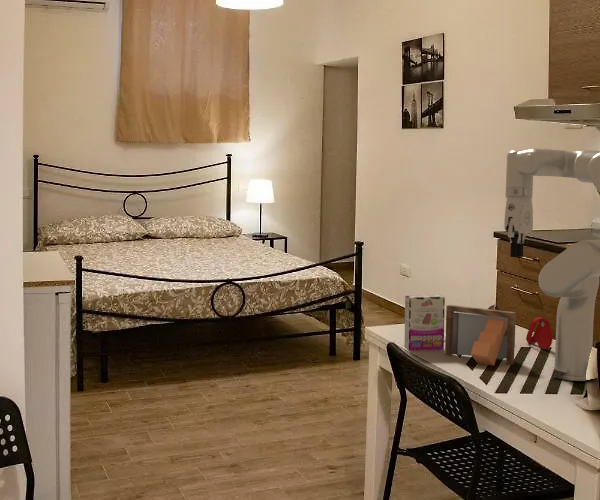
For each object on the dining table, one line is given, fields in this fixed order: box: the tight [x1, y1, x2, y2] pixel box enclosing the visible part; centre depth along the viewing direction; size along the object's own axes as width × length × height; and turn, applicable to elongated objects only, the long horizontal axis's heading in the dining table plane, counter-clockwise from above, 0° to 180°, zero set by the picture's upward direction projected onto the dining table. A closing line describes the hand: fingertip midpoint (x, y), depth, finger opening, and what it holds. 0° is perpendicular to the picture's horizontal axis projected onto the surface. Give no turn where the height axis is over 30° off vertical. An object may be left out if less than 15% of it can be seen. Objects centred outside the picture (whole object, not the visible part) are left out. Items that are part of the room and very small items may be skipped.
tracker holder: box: [525, 316, 553, 350], centre depth 257 cm, size 12×4×10 cm, turn 16°
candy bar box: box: [403, 294, 446, 351], centre depth 252 cm, size 11×5×16 cm, turn 101°
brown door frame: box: [444, 304, 517, 366], centre depth 239 cm, size 20×2×14 cm, turn 52°
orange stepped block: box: [470, 319, 507, 366], centre depth 234 cm, size 5×13×6 cm
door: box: [452, 312, 508, 359], centre depth 241 cm, size 17×3×12 cm, turn 70°
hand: (516, 256), depth 243 cm, fingers closed
